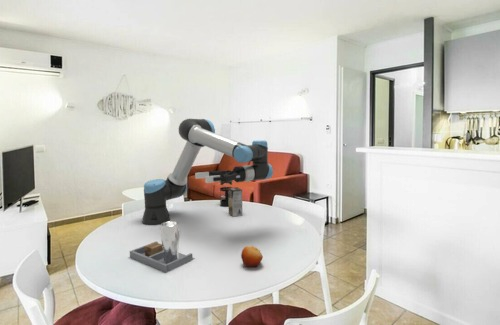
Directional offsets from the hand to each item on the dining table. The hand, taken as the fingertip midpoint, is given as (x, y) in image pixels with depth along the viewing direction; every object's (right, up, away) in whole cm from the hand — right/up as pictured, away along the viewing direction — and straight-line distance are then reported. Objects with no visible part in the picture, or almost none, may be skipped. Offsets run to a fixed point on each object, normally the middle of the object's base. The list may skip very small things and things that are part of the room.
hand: (200, 177), depth 128 cm
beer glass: (-8, -32, -17) cm, 37 cm away
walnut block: (-17, -31, -10) cm, 37 cm away
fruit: (+23, -32, -20) cm, 44 cm away
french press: (+6, -23, +72) cm, 76 cm away
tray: (-13, -32, -13) cm, 37 cm away
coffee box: (+13, -25, +48) cm, 56 cm away
